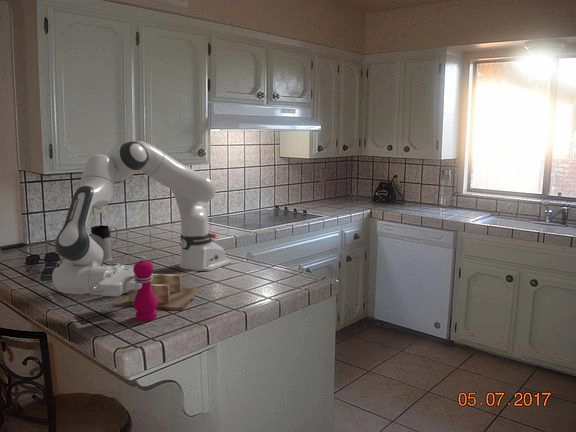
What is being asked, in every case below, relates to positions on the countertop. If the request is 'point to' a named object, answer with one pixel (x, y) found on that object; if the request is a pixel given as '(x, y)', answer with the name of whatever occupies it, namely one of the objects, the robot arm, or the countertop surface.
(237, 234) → the countertop surface
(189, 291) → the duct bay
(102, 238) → the grey black mug
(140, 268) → the pepper mill
